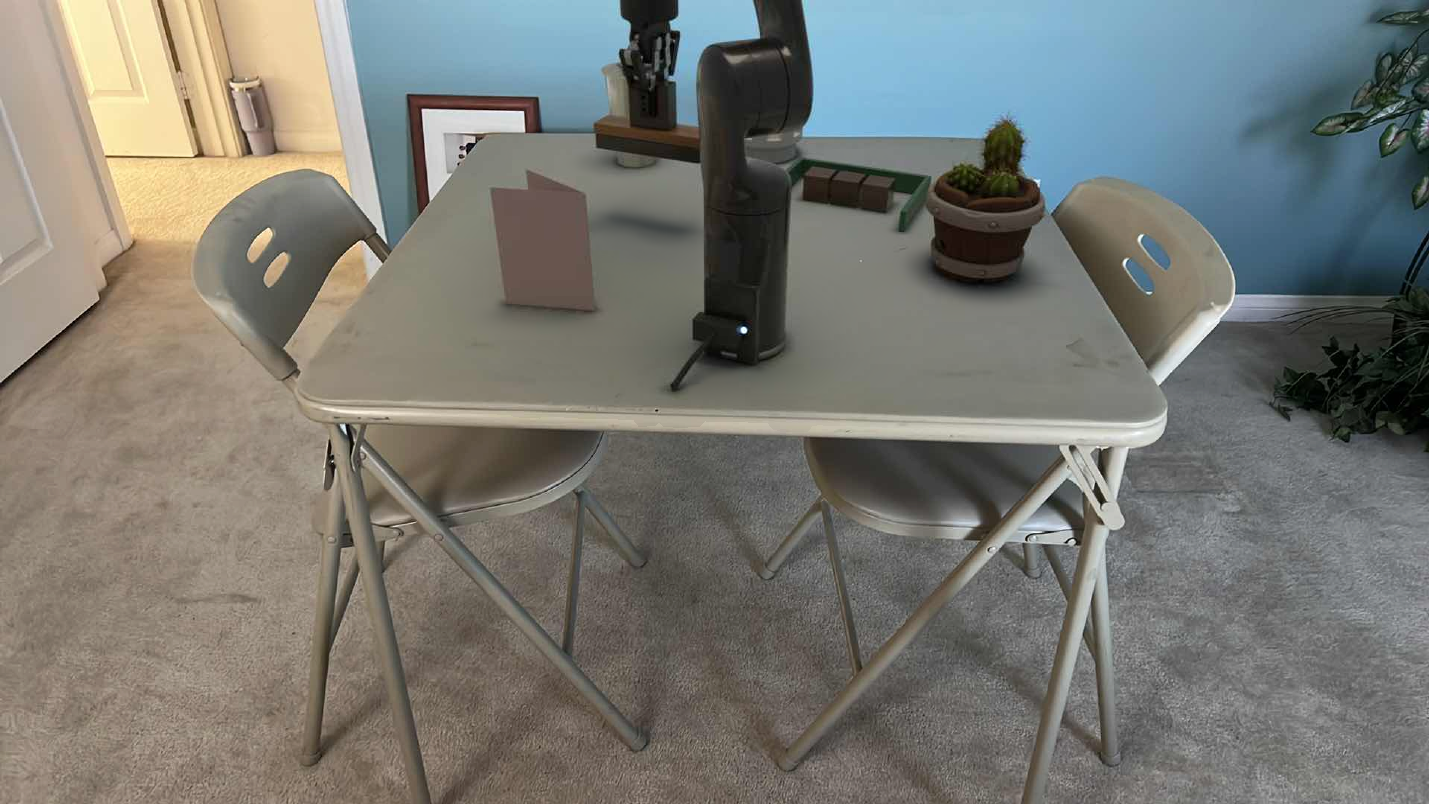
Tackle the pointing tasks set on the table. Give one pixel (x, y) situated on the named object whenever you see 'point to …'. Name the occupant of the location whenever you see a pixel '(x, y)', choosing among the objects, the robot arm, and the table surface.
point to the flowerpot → (985, 211)
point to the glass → (622, 110)
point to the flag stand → (773, 146)
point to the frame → (903, 181)
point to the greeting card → (544, 244)
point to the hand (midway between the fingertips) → (653, 114)
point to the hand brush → (650, 129)
